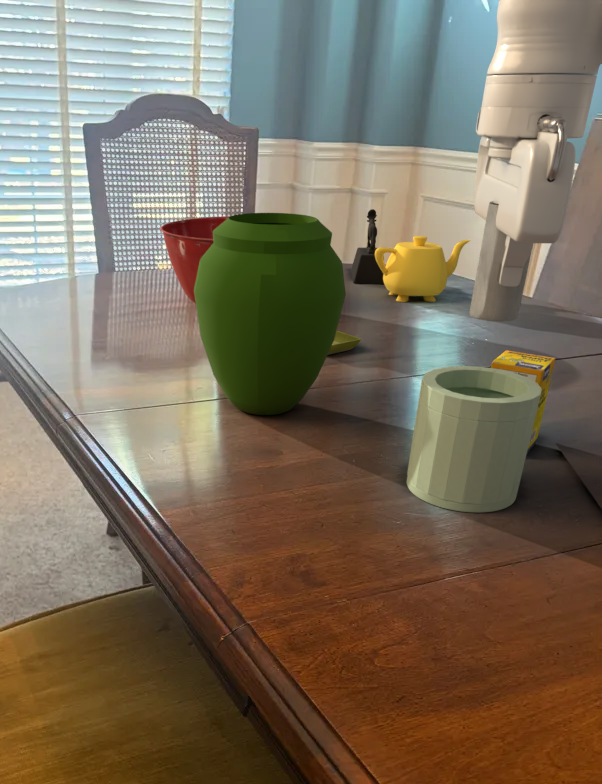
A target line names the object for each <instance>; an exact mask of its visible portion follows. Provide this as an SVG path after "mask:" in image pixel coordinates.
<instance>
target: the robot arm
mask: <svg viewBox="0 0 602 784" xmlns="http://www.w3.org/2000/svg"><path fill="white" fill-rule="evenodd" d="M496 28H497V37H496V38H497V40H496V46H495V51H494V53H493V56H492V58H491V61H490V63H489V65H488V67H487V72H486V77H485V81H484V82H485V84H484V89H483V95H482V99H481V107H480V109H479V110H478V113H477V120H476V124H475V133H476V135H477V136H479V137H480V140H479V145H478V151H477V160H476V172H475V181H474V192H473V206H474V213H475V214H476V215H477V216H479V217H480V218H482V219H483V220H484V221H486V217H487V211H488V206H489V203H490V202H491V201H493V202H494V203H496V204H499V206H498V211H497V216H496V227H497V228H498V229H499V230H500V231H502V232H503V233H505V234H506V235H507V237H506V242H505V246H506V250H505V254H504V258H503V262H502V264H500V267H499V274H498V277H497V280H498V282H499V283H500V284H501V285H502V286H503V287H516V286H518V285H519V284H520V282H521V277H522V272H523V268H524V266H525V264H526V262H527V260H528V257H529V255H530V253H531V254H532V252H533V248H534V245H535V244H555V243H556V242H558V240H559V238H560V236H561V234H562V232H563V229H564V228H565V222H566V219H567V213H568V209H569V203H570V198H571V197H570V196H571V191H572V185H573V179H574V174H575V173H574V172H575V168H576V167H575V166H576V148H575V145H574V144H573V142H571V141H568V139H581V138H583V137H584V135H585V131H586V126H587V122H588V117H589V113H590V109H591V105H592V100H593V96H594V92H595V86H596V82H597V78H598V73H599V70H600V66H601V65H602V0H498V5H497V10H496ZM531 251H532V252H531Z"/></svg>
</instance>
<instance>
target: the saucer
mask: <svg viewBox="0 0 602 784" xmlns="http://www.w3.org/2000/svg"><path fill="white" fill-rule="evenodd" d="M361 341H362V337H361V338H360V337H358V336H355V335H352V334H349V333H347V332H343V331H339V330H338V329H337V330H336V334H335V338H334V342H333V344H332V346H331V348H330V350H329V353H328V355H327V356H329V355H332V354H333V355H334V354H339V353H342V352H346V351H350V350H352V349H353V348H355V347H356V346H357V345H358V344H359V343H360V342H361Z"/></svg>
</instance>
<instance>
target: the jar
mask: <svg viewBox="0 0 602 784" xmlns="http://www.w3.org/2000/svg"><path fill="white" fill-rule="evenodd" d="M541 391H542V388H541V387H540V386H539V385H538V383H536V382H534V381H533V380H531V379H529V378H527V377H524V376H521V375H519V374H516V373H513V372H508V371H504V370H499V369H493V368H491V367H485V366H472V365H457V366H456V365H455V366H444V367H439V368H434V369H431V370H429V371H427V372H425V373H424V375H423V376H422V378H421V383H420V390H419V395H418V402H417V409H416V413H415V421H414V428H413V434H412V440H411V447H410V448H411V449H410V453H409V459H408V465H407V472H406V473H407V475H406V476H407V477H406V486H407V488H408V490H409V491H410V493H412V494H413V495H414V496H416V498H418V499H420V500H422V501H424V502H425V503H428V504H430V505H433V506H435V507H439V508H442V509H446V510H451V511H455V512H461V513H462V512H463V513H477V514H478V513H480V514H481V513H493V512H497V511H502V510H504V509H506V508H509V507H510V506H512V504H514V502H515V501H516V499H517V496H518V492H519V487H520V484H521V479H522V475H523V471H524V468H525V462H526V459H527V455H528V454H527V450H528V446H529V442H530V438H531V433H532V429H533V425H534V421H535V417H536V412H537V408H538V404H539V400H540V395H541Z"/></svg>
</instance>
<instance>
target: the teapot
mask: <svg viewBox="0 0 602 784" xmlns="http://www.w3.org/2000/svg"><path fill="white" fill-rule="evenodd" d="M412 239H413V241H400V242H398V243H396V245H395V247H386V246H381V247H376V248H377V249H376V251H375V259H376V261H377V264H378V265H379V267H380V269H381V270H382V272H383V273H384V275H383V282H384V284H383V285H384V286H385V288H386V290H387V291H389V293H388V295H389V296H397V297H396V299H395V301H396V302H400V303H405V302H408V301H409V298H410V297H412V296H413V297H414V296H415V297H416V296H418V297H419V296H420V297H423V301H424V302H429V303H430V302H431V303H432V302H433V303H434V302H436V301H437V300H436V297H435V296H439V295H441V293H443V291H444V290H445V288H446V286H447V282H448V278H449V277H450V276H452V275H453V274H454V272H455V270H456V269H457V267H458V263H459V258H460V255H461V251H462V249H463V248H464V246H466V244H469V242H470V241H472V239H465V240H461V241H458V242H457V243H456V244H455V245H454V246H453V249H452V252H451V255H450V257H449V259H448V260H447V261H446V257H445V253H444V251H443V247H442V246H441V245H439V244H437V243H434V242H428V241H427V240H428V237H427V236H425V235H415V236H413V237H412ZM386 253H388V254H390V255H389V257H388V259H387V261H386V263H385V258H384V259H383V256H384V255H385V254H386Z"/></svg>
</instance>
